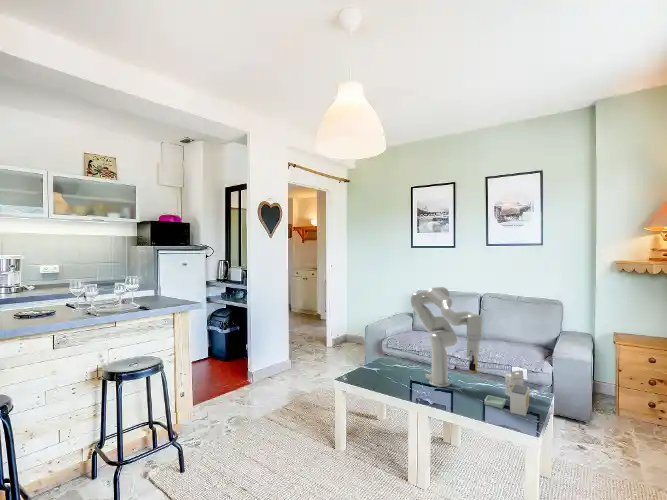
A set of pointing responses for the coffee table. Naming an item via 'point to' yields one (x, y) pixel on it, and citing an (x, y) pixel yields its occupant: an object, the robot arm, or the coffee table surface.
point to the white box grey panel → (519, 399)
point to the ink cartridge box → (513, 381)
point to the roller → (475, 366)
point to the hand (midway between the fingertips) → (473, 369)
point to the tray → (494, 401)
